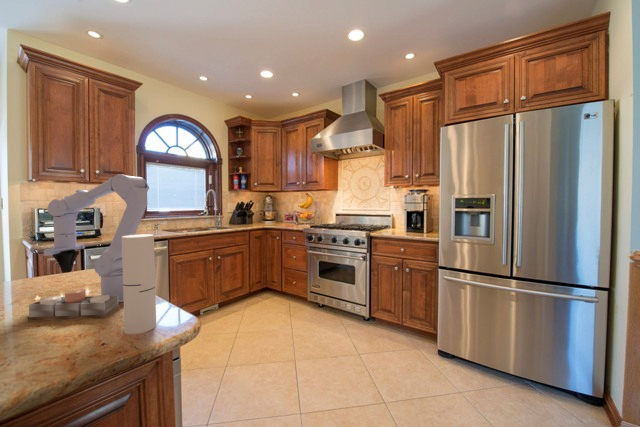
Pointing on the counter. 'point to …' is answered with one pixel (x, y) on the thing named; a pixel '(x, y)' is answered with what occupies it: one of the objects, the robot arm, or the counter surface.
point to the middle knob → (75, 296)
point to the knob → (99, 298)
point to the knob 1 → (50, 300)
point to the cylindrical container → (138, 283)
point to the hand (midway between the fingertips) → (66, 272)
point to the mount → (73, 309)
